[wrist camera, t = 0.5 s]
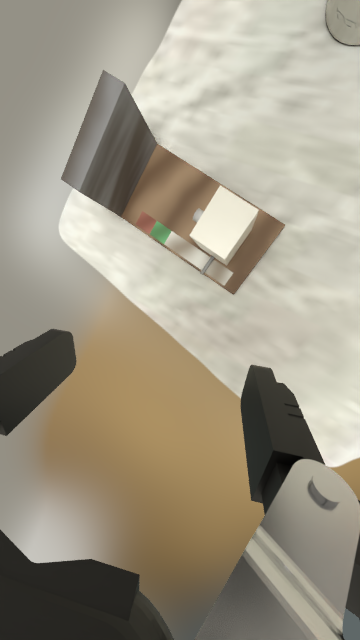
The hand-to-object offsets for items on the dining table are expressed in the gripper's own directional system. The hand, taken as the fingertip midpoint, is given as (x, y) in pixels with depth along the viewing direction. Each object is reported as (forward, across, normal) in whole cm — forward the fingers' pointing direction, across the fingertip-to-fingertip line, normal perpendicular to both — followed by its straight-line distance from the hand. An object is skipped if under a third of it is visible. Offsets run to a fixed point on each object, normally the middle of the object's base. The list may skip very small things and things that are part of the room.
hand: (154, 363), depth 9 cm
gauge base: (+30, +4, -7) cm, 31 cm away
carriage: (+27, -1, -3) cm, 27 cm away
